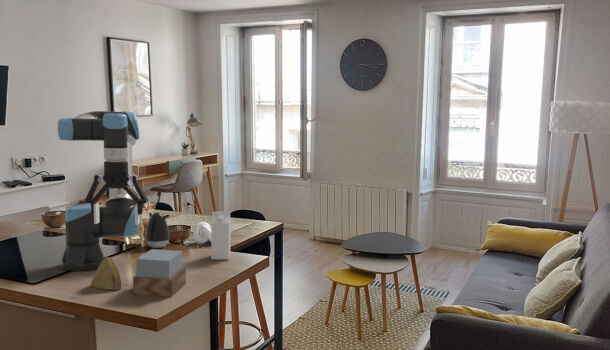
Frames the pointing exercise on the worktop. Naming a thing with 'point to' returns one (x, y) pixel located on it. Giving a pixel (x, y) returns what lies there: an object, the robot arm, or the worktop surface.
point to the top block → (159, 264)
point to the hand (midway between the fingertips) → (117, 223)
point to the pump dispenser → (157, 231)
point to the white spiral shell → (202, 233)
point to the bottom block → (159, 285)
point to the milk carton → (220, 236)
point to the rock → (107, 276)
